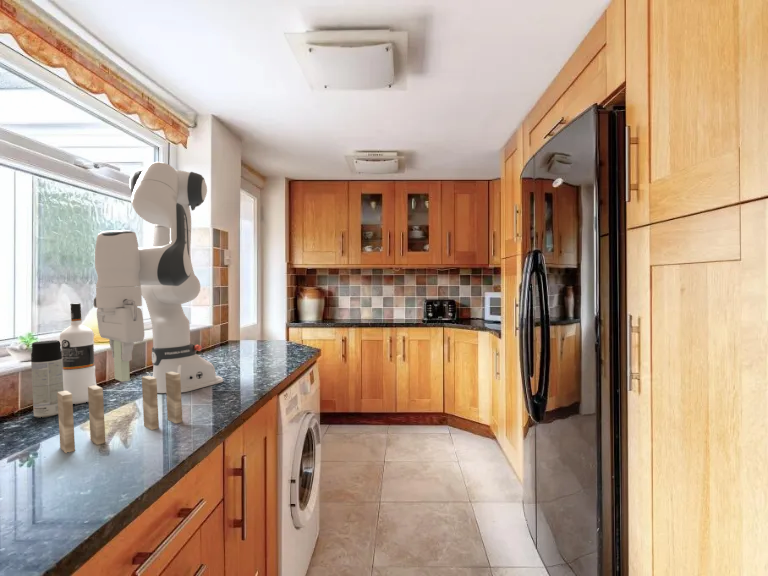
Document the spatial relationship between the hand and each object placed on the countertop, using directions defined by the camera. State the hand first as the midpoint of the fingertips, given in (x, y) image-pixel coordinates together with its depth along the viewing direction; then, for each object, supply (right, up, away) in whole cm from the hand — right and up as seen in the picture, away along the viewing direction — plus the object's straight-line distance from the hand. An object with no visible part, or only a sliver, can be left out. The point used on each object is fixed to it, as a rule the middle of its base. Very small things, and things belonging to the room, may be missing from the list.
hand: (121, 359), depth 97 cm
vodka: (-32, -18, +31) cm, 48 cm away
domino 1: (-7, -18, -8) cm, 20 cm away
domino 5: (+8, -17, +9) cm, 21 cm away
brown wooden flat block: (-3, -18, -4) cm, 18 cm away
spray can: (-31, -18, +18) cm, 41 cm away
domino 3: (0, -5, 0) cm, 5 cm away
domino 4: (+4, -17, +4) cm, 18 cm away
